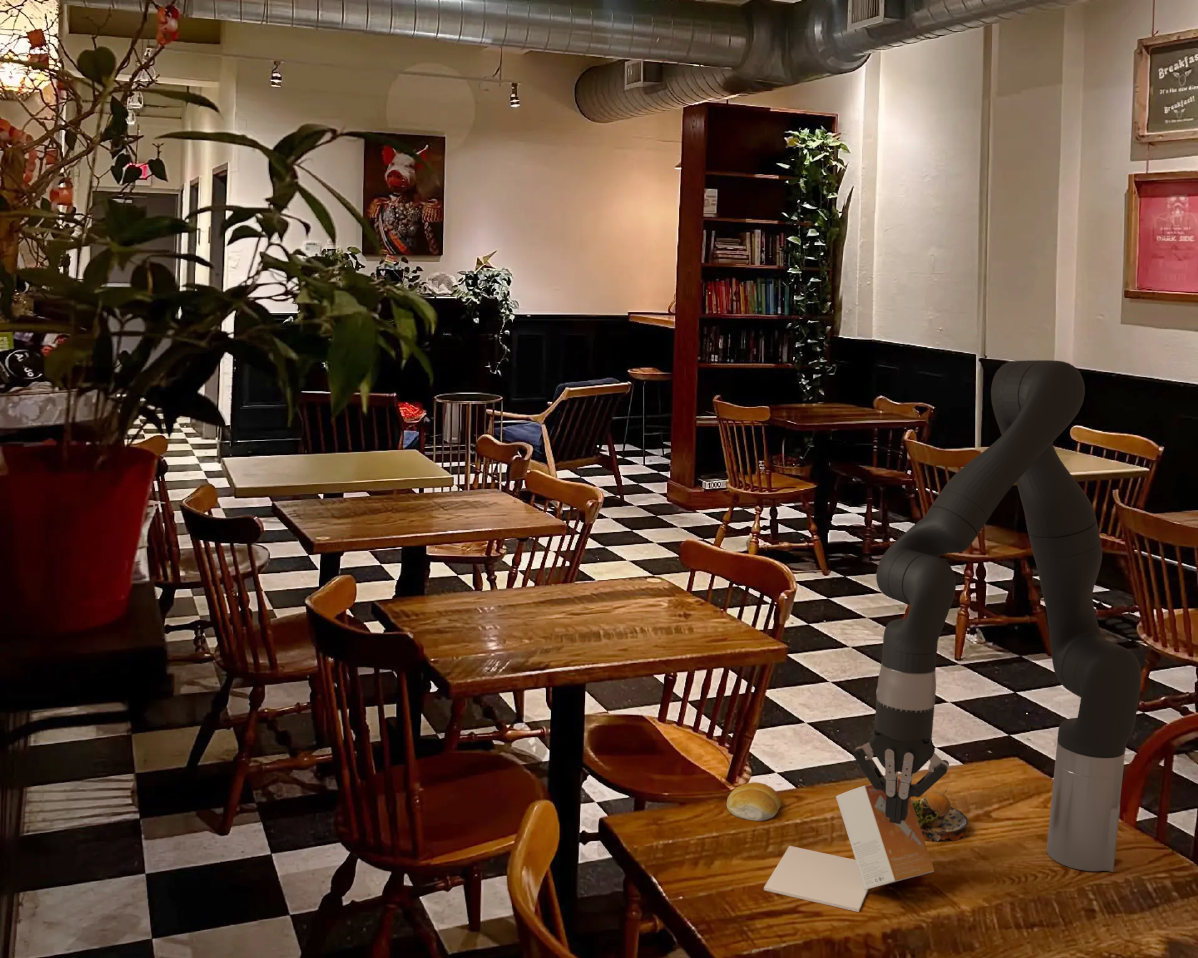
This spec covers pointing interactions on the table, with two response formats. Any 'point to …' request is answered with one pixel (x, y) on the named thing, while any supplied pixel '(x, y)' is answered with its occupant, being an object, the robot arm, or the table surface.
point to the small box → (882, 838)
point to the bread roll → (754, 802)
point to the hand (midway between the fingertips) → (895, 820)
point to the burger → (939, 818)
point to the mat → (818, 878)
